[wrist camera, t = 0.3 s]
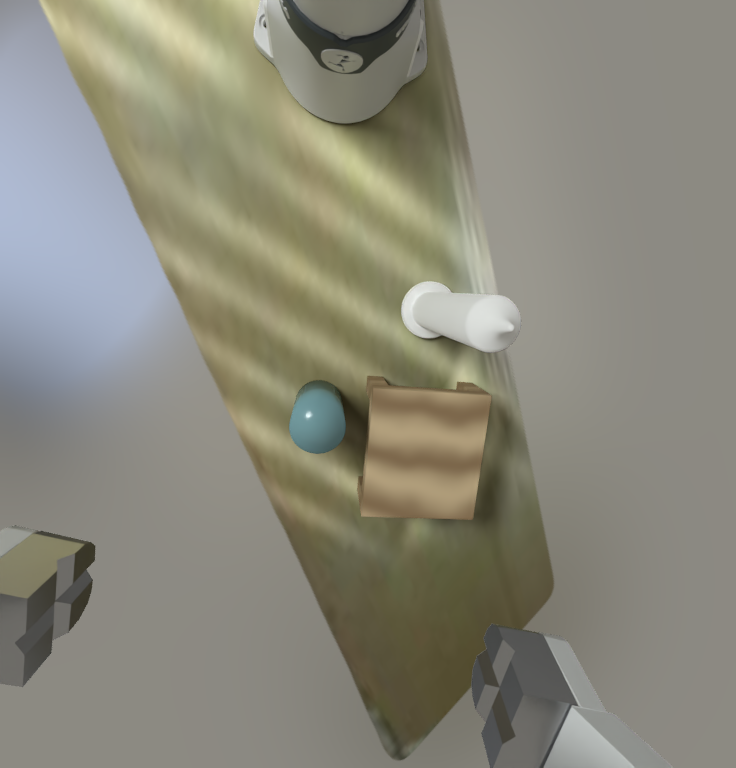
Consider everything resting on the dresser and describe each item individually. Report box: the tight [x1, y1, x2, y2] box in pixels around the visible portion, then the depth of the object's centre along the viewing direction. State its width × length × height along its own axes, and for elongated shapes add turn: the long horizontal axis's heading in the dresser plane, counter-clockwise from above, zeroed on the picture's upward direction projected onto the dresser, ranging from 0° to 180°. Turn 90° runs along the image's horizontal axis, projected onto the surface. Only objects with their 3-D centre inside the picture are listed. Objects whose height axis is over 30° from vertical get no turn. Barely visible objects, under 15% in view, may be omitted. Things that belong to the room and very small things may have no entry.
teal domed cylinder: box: [289, 380, 346, 454], centre depth 51 cm, size 6×6×10 cm
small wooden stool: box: [357, 376, 492, 520], centre depth 54 cm, size 16×14×7 cm
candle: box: [401, 281, 521, 353], centre depth 42 cm, size 7×7×25 cm
